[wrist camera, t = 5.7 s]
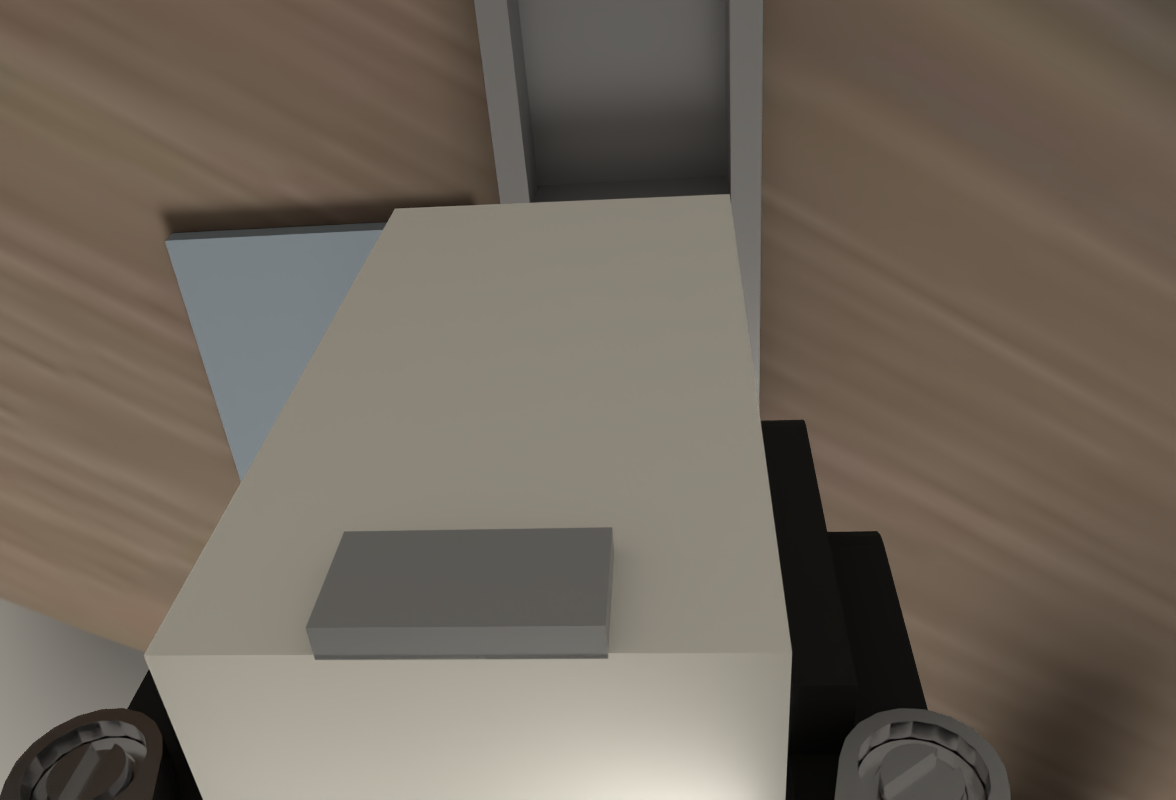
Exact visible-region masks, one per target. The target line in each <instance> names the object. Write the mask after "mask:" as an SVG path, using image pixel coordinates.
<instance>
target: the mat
mask: <svg viewBox="0 0 1176 800" xmlns="http://www.w3.org/2000/svg"><path fill="white" fill-rule="evenodd" d="M386 224H387V222H382V223H362V224H343V225H323V226H303V227H284V228H264V229H244V230H225V231H205V232H185V233H172V234H171V235H170V236H169V237H168V238H167V239H166V240H165V243H166V246H167V249H168V252H169V256H170V259H171V262H172V265H173V268H174V271H175V275H176V278H177V281H178V284H179V287H180V290H181V294H182V297H183V300H184V303H185V306H186V309H187V313H188V316H189V319H190V322H191V325H192V328H193V332H194V335H195V338H196V341H197V344H198V347H199V351H200V354H201V357H202V360H203V363H204V366H205V370H206V373H207V376H208V379H209V382H210V385H211V389H212V392H213V395H214V398H215V401H216V404H217V408H218V411H219V414H220V417H221V420H222V423H223V427H224V430H225V433H226V436H227V439H228V442H229V446H230V449H231V452H232V455H233V458H234V461H235V465H236V468H237V471H238V474H239V477H240V480H241V482H242V480H243V478H244V476H245V474H246V473H247V471H248V469H249V467H250V466H251V464H252V462H253V460H254V458H255V457H256V455H257V453H258V451H259V450H260V448H261V446H262V444H263V442H264V441H265V439H266V437H267V435H268V434H269V432H270V430H271V428H272V426H273V425H274V423H275V421H276V419H277V418H278V416H279V414H280V412H281V410H282V409H283V407H284V405H285V403H286V402H287V400H288V398H289V396H290V394H291V393H292V391H293V389H294V387H295V386H296V384H297V382H298V380H299V378H300V377H301V375H302V373H303V371H304V369H305V368H306V366H307V364H308V362H309V361H310V359H311V357H312V355H313V353H314V352H315V350H316V348H317V346H318V345H319V343H320V341H321V339H322V337H323V336H324V334H325V332H326V330H327V329H328V327H329V325H330V323H331V321H332V320H333V318H334V316H335V314H336V313H337V311H338V309H339V307H340V305H341V304H342V302H343V300H344V298H345V297H346V295H347V293H348V291H349V289H350V288H351V286H352V284H353V282H354V281H355V279H356V277H357V275H358V273H359V272H360V270H361V268H362V266H363V264H364V263H365V261H366V259H367V257H368V256H369V254H370V252H371V250H372V248H373V247H374V245H375V243H376V241H377V240H378V238H379V236H380V234H381V232H382V231H383V229H384V227H385V225H386Z"/></svg>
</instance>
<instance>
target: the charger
mask: <svg viewBox="0 0 1176 800" xmlns="http://www.w3.org/2000/svg"><path fill="white" fill-rule="evenodd" d="M144 657H145V660H146V662H147V665H148V667H149V670H150V672H151V674H152V677H153V679H154V682H155V684H156V687H157V689H158V691H159V694H160V696H161V699H162V701H163V704H164V706H165V709H166V711H167V713H168V716H169V718H170V721H171V723H172V726H173V728H174V730H175V733H176V735H177V738H178V740H179V743H180V745H181V747H182V750H183V752H184V755H185V757H186V760H187V762H188V764H189V767H190V769H191V772H192V774H193V777H194V779H195V781H196V784H197V786H198V789H199V791H200V794H201V796H202V798H203V800H785V798H786V776H787V754H788V732H789V710H790V688H791V666H792V648H791V641H790V634H789V626H788V619H787V612H786V604H785V597H784V590H783V582H782V575H781V568H780V560H779V553H778V546H777V538H776V531H775V524H774V516H773V509H772V502H771V494H770V487H769V479H768V472H767V465H766V457H765V450H764V443H763V435H762V428H761V421H760V413H759V406H758V399H757V391H756V384H755V377H754V369H753V362H752V355H751V347H750V340H749V333H748V325H747V318H746V311H745V303H744V296H743V289H742V281H741V274H740V267H739V259H738V252H737V245H736V237H735V230H734V223H733V215H732V208H731V201H730V194H721V195H698V196H675V197H652V198H629V199H606V200H583V201H560V202H537V203H514V204H491V205H468V206H445V207H422V208H399V209H394V211H393V213H392V215H391V216H390V218H389V220H388V222H387V224H386V225H385V227H384V229H383V231H382V232H381V234H380V236H379V238H378V240H377V241H376V243H375V245H374V247H373V248H372V250H371V252H370V254H369V256H368V257H367V259H366V261H365V263H364V264H363V266H362V268H361V270H360V272H359V273H358V275H357V277H356V279H355V281H354V282H353V284H352V286H351V288H350V289H349V291H348V293H347V295H346V297H345V298H344V300H343V302H342V304H341V305H340V307H339V309H338V311H337V313H336V314H335V316H334V318H333V320H332V321H331V323H330V325H329V327H328V329H327V330H326V332H325V334H324V336H323V337H322V339H321V341H320V343H319V345H318V346H317V348H316V350H315V352H314V353H313V355H312V357H311V359H310V361H309V362H308V364H307V366H306V368H305V369H304V371H303V373H302V375H301V377H300V378H299V380H298V382H297V384H296V386H295V387H294V389H293V391H292V393H291V394H290V396H289V398H288V400H287V402H286V403H285V405H284V407H283V409H282V410H281V412H280V414H279V416H278V418H277V419H276V421H275V423H274V425H273V426H272V428H271V430H270V432H269V434H268V435H267V437H266V439H265V441H264V442H263V444H262V446H261V448H260V450H259V451H258V453H257V455H256V457H255V458H254V460H253V462H252V464H251V466H250V467H249V469H248V471H247V473H246V474H245V476H244V478H243V480H242V482H241V483H240V485H239V487H238V489H237V491H236V492H235V494H234V496H233V498H232V499H231V501H230V503H229V505H228V507H227V508H226V510H225V512H224V514H223V515H222V517H221V519H220V521H219V523H218V524H217V526H216V528H215V530H214V531H213V533H212V535H211V537H210V539H209V540H208V542H207V544H206V546H205V547H204V549H203V551H202V553H201V555H200V556H199V558H198V560H197V562H196V563H195V565H194V567H193V569H192V571H191V572H190V574H189V576H188V578H187V579H186V581H185V583H184V585H183V587H182V588H181V590H180V592H179V594H178V595H177V597H176V599H175V601H174V603H173V604H172V606H171V608H170V610H169V612H168V613H167V615H166V617H165V619H164V620H163V622H162V624H161V626H160V628H159V629H158V631H157V633H156V635H155V636H154V638H153V640H152V642H151V644H150V645H149V647H148V649H147V651H146V652H145V654H144Z"/></svg>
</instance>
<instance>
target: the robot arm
mask: <svg viewBox="0 0 1176 800" xmlns="http://www.w3.org/2000/svg"><path fill="white" fill-rule="evenodd" d="M761 428H762V435H763V443H764V450H765V457H766V465H767V472H768V479H769V487H770V494H771V502H772V509H773V516H774V524H775V531H776V538H777V546H778V553H779V560H780V568H781V575H782V582H783V590H784V597H785V604H786V612H787V619H788V626H789V634H790V641H791V648H792V666H791V688H790V710H789V732H788V754H787V776H786V798H785V800H1011V796H1010V785H1009V781H1008V777H1007V773H1006V768H1005V765H1004V764H1003V762H1002V761H1001V759H1000V758H999V756H998V754H997V753H996V751H995V750H994V748H993V747H992V745H990V744H989V743H988V742H987V741H986V740H985V739H984V738H983V737H982V736H980V735H979V734H978V733H977V732H976V731H975V730H974V729H972V728H970V727H969V726H967V725H965V724H963V723H961V722H959V721H958V720H956V719H954V718H952V717H950V716H947V715H943V714H940V713H936V712H933V711H929V710H928V709H927V705H926V702H925V698H924V694H923V690H922V687H921V683H920V679H919V675H918V672H917V668H916V664H915V660H914V656H913V653H912V649H911V645H910V641H909V638H908V634H907V630H906V626H905V623H904V619H903V615H902V611H901V608H900V604H899V600H898V596H897V592H896V589H895V585H894V581H893V577H892V574H891V570H890V566H889V562H888V559H887V555H886V551H885V547H884V544H883V541H882V538H881V535H880V534H879V533H878V532H877V531H864V532H827V529H826V524H825V519H824V514H823V509H822V504H821V499H820V494H819V489H818V484H817V479H816V474H815V469H814V464H813V459H812V453H811V448H810V443H809V438H808V433H807V428H806V424H805V421H804V420H774V421H761ZM0 800H203V798H202V796H201V794H200V791H199V789H198V786H197V784H196V781H195V779H194V777H193V774H192V772H191V769H190V767H189V764H188V762H187V760H186V757H185V755H184V752H183V750H182V747H181V745H180V743H179V740H178V738H177V735H176V733H175V730H174V728H173V726H172V723H171V721H170V718H169V716H168V713H167V711H166V709H165V706H164V704H163V701H162V699H161V696H160V694H159V691H158V689H157V687H156V684H155V682H154V679H153V677H152V674H151V672H150V670H148V672H147V674H146V676H145V678H144V680H143V681H142V683H141V685H140V687H139V689H138V690H137V692H136V694H135V696H134V698H133V700H132V701H131V703H130V705H129V707H128V709H124V708H119V709H102V710H98V711H94V712H90V713H87V714H83V715H80V716H77V717H75V718H73V719H71V720H69V721H67V722H65V723H63V724H60V725H59V726H56V727H55V728H53V729H52V730H50V731H49V732H48V733H46V734H45V735H43V736H42V737H41V738H39V739H38V740H37V741H35V742H34V743H33V744H32V745H31V746H30V747H29V748H28V749H27V750H26V751H25V752H24V754H23V755H22V756H21V757H20V758H19V759H18V760H17V761H16V763H15V765H14V767H13V768H12V770H11V772H10V774H9V776H8V778H7V779H6V781H5V784H4V786H3V789H2V792H1V795H0Z"/></svg>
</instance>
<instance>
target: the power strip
mask: <svg viewBox="0 0 1176 800" xmlns="http://www.w3.org/2000/svg"><path fill="white" fill-rule="evenodd" d="M474 4H475V12H476V20H477V27H478V35H479V43H480V50H481V58H482V66H483V74H484V81H485V89H486V97H487V104H488V112H489V120H490V127H491V135H492V143H493V151H494V158H495V166H496V174H497V181H498V189H499V197H500V204H514V203H537V202H560V201H583V200H606V199H629V198H652V197H675V196H698V195H721V194H730V201H731V208H732V215H733V223H734V230H735V237H736V245H737V252H738V259H739V267H740V274H741V281H742V289H743V296H744V303H745V311H746V318H747V325H748V333H749V340H750V347H751V355H752V362H753V369H754V377H755V384H756V391H757V399H758V406H759V371H760V270H761V169H762V67H763V0H474Z"/></svg>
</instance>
